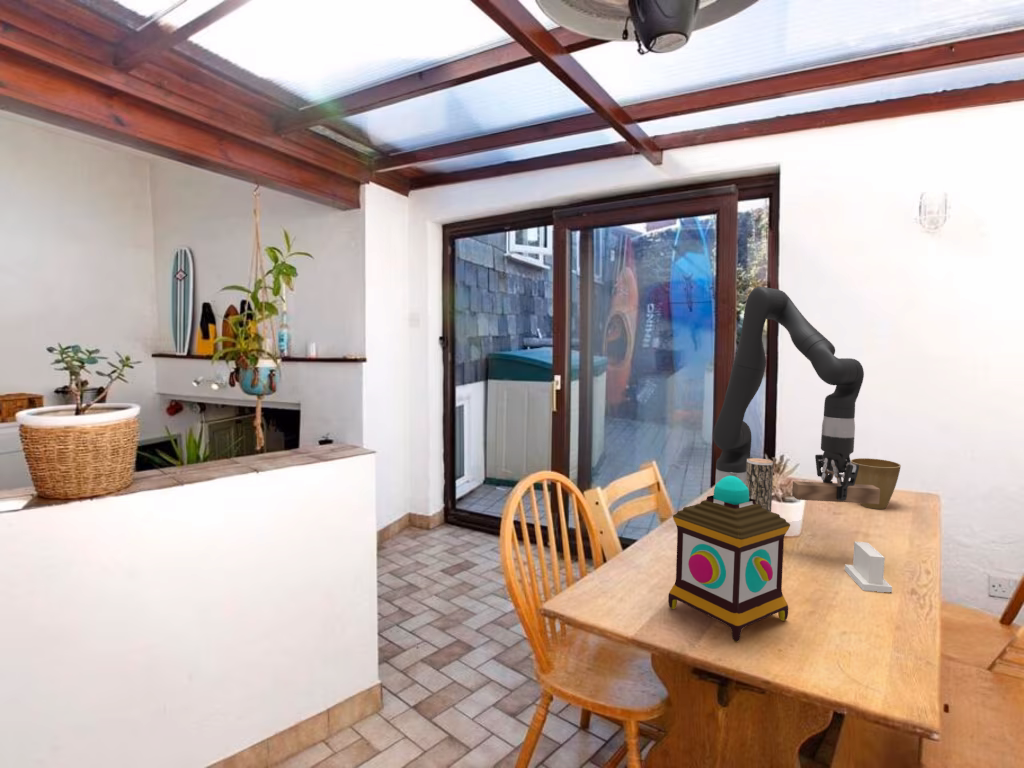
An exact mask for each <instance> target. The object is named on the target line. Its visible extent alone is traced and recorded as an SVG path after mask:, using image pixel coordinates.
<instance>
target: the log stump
mask: <svg viewBox="0 0 1024 768" xmlns="http://www.w3.org/2000/svg"><path fill="white" fill-rule="evenodd" d="M773 477H774V461H773V460H772V459H771V460H770V459H765V458H760V457H759V458H756V457H750V459H747V467H746V486H747V487H748V490H749V498H751V499H754V500H756V503H757V504H759V505H761V507H762V508H764V509H766V510H767V511H769V512H772V502H773V483H774V482H773V481H774V480H773V479H774V478H773Z"/></svg>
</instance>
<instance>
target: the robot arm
mask: <svg viewBox="0 0 1024 768" xmlns="http://www.w3.org/2000/svg"><path fill="white" fill-rule="evenodd" d="M742 319H743V320H742V325H741V326H742V327H741V332H740V337H739V341H738V346H737V350H736V353H735V356H734V360H733V363H732V367H731V372H730V376H729V381H728V383H727V384H728V385H727V389H726V392H725V396H724V401H723V403H722V407H721V410H720V411H719V412H720V413H719V414H718V415H719V416H718V418H717V420H716V423H715V425H714V428H713V433H712V436H713V441H714V444H715V445H716V447H718V448H719V449H720V450H721V453H720V456H719V457H718V458H717V459H716V462H715V463H716V464H715V485H716V484H717V483H718V482H719V481H720V480H721V479H723V478H724V477H727V476H735V477H737V478H739V479H740V480H741V481H742V482H743V483H744V484H745V485H746V467H747V459H750V458H751V451H752V449H751V448H752V431H751V428H750V426H749V424H748V423H747V422H745V421H744V419H745V415H746V412H747V409H748V407H749V405H750V404H751V402H752V400H753V399H754V398H755V396H756V394H757V392H758V391H759V389H760V387H761V385H762V381H763V379H764V376H765V375H764V374H765V372H766V371H765V370H766V367H767V356H766V352H765V347H764V342H763V332H764V328H765V324H766V321H767V320H770V321H771V320H773V321H775V322H776V323H778V324H779V325H781V326H782V327H783V328H784V329H786V331H787V332H788V334H789V337H790V340H791V342H792V343H793V345H794V347H795V348H796V349H797V351H799V352H800V353H801V355H803V356H804V357H805V358H806V359H807V360H808V361H809V362H810V363H811V365H812V368H813V369H814V371H815V373H816V374H817V376H818V378H820V380H822V381H823V382H824V383H826V384H828V385H830V386H835V389H834V391H833V393H830V394H827V395H826V396H825V398H824V406H823V407H824V408H823V419H822V423H821V439H820V440H821V441H820V450H821V451H822V452H823V453H822V454H815V455H814V457H815V467H816V475H817V477H819V478H821V480H822V483H834V482H833V481H832V480H834V479H833V478H836V483H837V484H838V486H837V500H839V501H844V500H846V498H847V487H848V486H854V484H855V481H856V477H857V473H858V470H859V465H858V464H853V463H851V460H852V459H851V454H853V453H854V449H855V436H856V435H855V433H856V424H855V423H856V422H855V415H856V402H857V399H858V398H859V397H858V396H859V394H860V392H861V388H862V386H863V382H864V377H865V371H864V368H863V365H862V363H861V362H860V361H859V360H857V359H855V358H850V357H849V358H848V357H847V358H838V357H837V356H835V354H836V347H835V346H834V344H833V343H832V342H831V341H830V340H829V339H827V338H826V336H824V335H823V334H822V333H821V332H820V331H819V330H818V329H817V328H815V327H814V326H813V325H812V324H811V323H810V321H808V320H807V318H806V317H805V316H804V315H803V314H802V312H801V311H800V310H799V308H798V307H797V306H796V304H795V303H794V302H793V301H792V299H791V298H790V297H789V295H788V294H787V293H786V292H785V291H783V290H781V289H778V288H773V287H772V288H770V287H766V286H758V287H755V288H753V289H752V291H750V293H749V295H747V299H746V301H745V306H744V311H743V317H742ZM842 478H843V480H842ZM715 485H714V486H715Z"/></svg>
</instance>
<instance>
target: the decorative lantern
mask: <svg viewBox="0 0 1024 768" xmlns="http://www.w3.org/2000/svg"><path fill="white" fill-rule="evenodd" d="M672 519H673V521H674V524H675V525H676V530H677V532H676V533H677V536H676V564H675V565H676V567H675V580H674V581H675V582H674V584H673V586H672V587H671V588H670V591H669V593H668V597H667V598H668V606H669V608H670V609H672V610H675V609H676V608H677V605H678V602H680V603H682V604H685V605H687V607H690V608H693V609H695V610H696V611H698V612H700V613H702V614H704V615H706V616H709V617H710V618H712V619H714V620H716V621H718V622H720V623H722V624H724V625H727V626H728V627H729V629H730V631H731V636H732V640H733V642H735V643H738V642H739V641H741V634H742V631H743V629H744V628H746V627H747V626H750V625H752V624H754V623H756V622H757V623H758V622H759V621H762V620H764V619H767V618H768V617H771V616H773V615H776V614H778V619H779V620H780V621H781V622H786V620H787V619H788V615H789V605H788V602H787V599H786V598H785V596H784V594H783V592H782V591H783V590H782V589H783V588H782V587H783V566H784V548H785V547H784V544H785V536H786V533H787V532H788V531H789V530H790V527H791V524H790V523H789V522H788V521H787V520H786V518H784V517H781V515H780V514H778V513H776V512H772V511H771V512H769V511H767V510H766V509H764V508H762V507H761V505H759V504H757V503H756V500H754V499H751V498H749V490H748V487H747V486H746V485H745V484H744V483H743V482H742V481H741V480H740V479H739V478H737V477H735V476H727V477H724V478H723V479H721V480H720V481H719V482H718V483H717V484H716V485H714V489H713V495H708V496H706V499H704V500H703V499H702V500H701V501H700V502H699V503H696V504H693V505H689V506H685V507H683V508H682V509H680V510H678V511H676V513H674V514H673V515H672Z"/></svg>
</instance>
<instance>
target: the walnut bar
mask: <svg viewBox="0 0 1024 768" xmlns="http://www.w3.org/2000/svg"><path fill="white" fill-rule="evenodd" d="M837 486H838V484H837V482H836V483H835V482H833V483H823V482H816V481H798V480H792V490H791V491H792V492H791V496H792V497H793V498H795V499H796V500H799V501H814V502H815V501H816V502H835V503H836V502H837V503H848V504H849V503H853V504H861V503H868V504H879V499H880V489H879V488H877V487H875V486H873V485H861V484H854V486H848V487H847V498H846V500H844V501H839V500H837Z"/></svg>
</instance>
